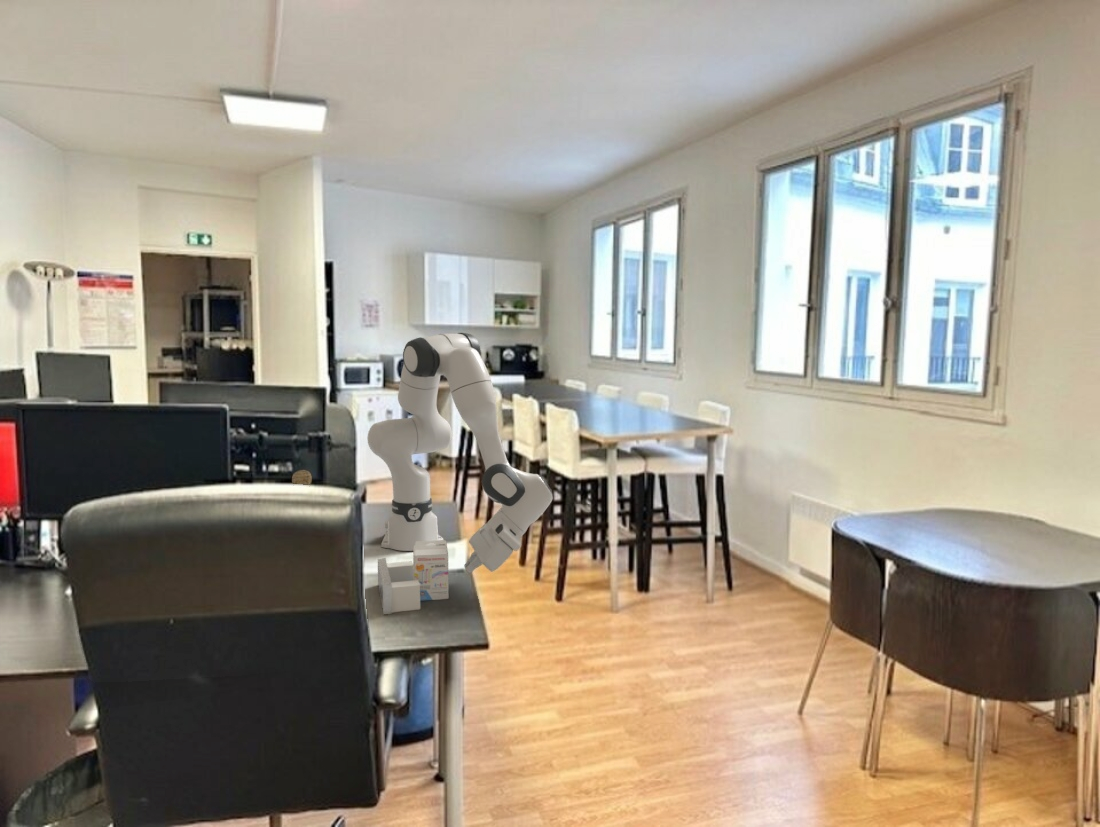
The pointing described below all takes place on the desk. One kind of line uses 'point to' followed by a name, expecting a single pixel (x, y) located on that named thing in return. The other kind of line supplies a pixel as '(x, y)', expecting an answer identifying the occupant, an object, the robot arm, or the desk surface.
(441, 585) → the ink box
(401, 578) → the box
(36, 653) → the desk surface
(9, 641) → the desk surface
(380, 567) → the rail
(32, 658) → the desk surface
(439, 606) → the desk surface
